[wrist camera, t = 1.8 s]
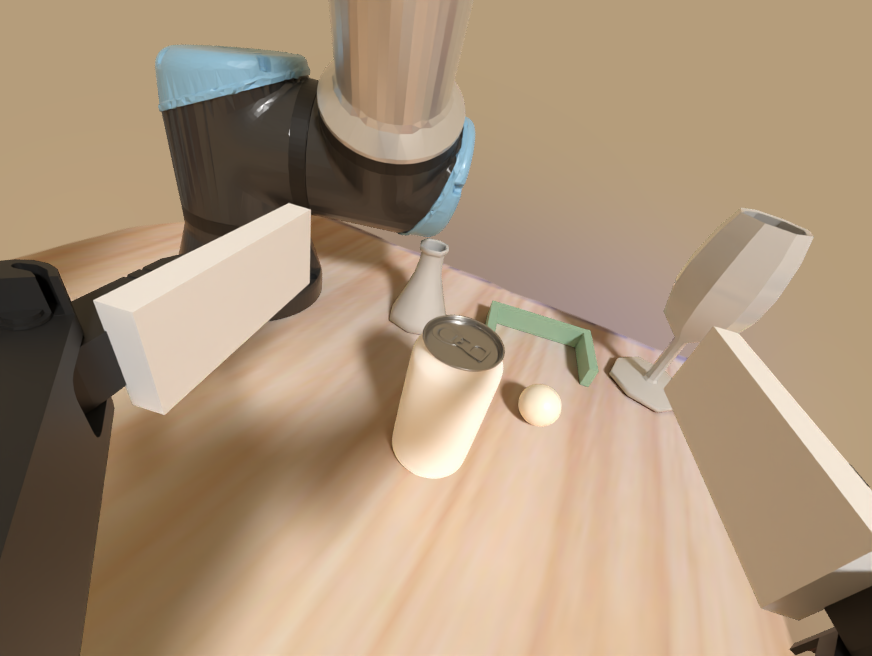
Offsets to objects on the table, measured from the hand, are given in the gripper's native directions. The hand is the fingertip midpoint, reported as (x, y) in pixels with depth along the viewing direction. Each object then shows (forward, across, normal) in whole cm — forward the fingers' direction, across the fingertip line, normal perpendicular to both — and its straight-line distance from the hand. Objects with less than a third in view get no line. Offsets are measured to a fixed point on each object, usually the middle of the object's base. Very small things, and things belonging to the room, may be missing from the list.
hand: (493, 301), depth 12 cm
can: (+10, 0, -21) cm, 23 cm away
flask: (+27, -6, -20) cm, 34 cm away
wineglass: (+27, +23, -20) cm, 41 cm away
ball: (+16, +9, -18) cm, 26 cm away
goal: (+27, +9, -20) cm, 35 cm away
